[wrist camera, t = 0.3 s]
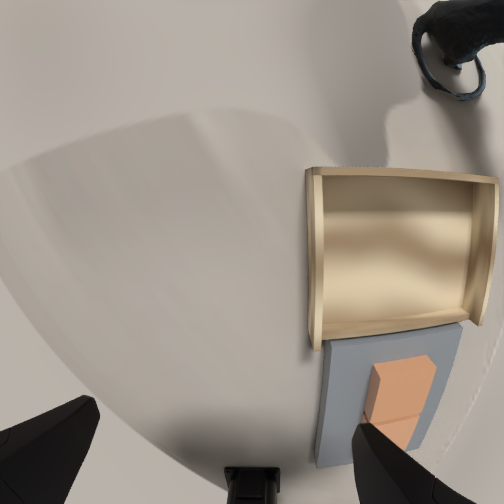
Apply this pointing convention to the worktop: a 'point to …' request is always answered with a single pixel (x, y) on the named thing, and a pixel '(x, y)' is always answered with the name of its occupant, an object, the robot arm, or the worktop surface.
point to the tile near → (398, 388)
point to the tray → (397, 249)
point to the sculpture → (460, 35)
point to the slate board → (358, 378)
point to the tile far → (397, 428)
